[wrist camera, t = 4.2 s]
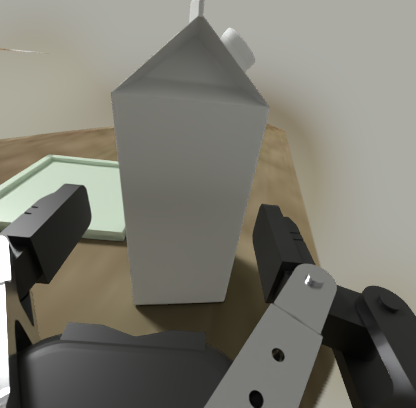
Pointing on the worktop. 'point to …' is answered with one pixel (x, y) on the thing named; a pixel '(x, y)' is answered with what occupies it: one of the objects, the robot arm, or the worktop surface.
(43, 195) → the tray
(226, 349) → the worktop surface
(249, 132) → the milk carton
